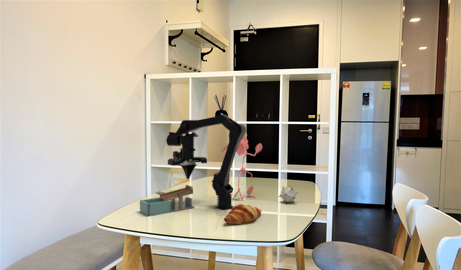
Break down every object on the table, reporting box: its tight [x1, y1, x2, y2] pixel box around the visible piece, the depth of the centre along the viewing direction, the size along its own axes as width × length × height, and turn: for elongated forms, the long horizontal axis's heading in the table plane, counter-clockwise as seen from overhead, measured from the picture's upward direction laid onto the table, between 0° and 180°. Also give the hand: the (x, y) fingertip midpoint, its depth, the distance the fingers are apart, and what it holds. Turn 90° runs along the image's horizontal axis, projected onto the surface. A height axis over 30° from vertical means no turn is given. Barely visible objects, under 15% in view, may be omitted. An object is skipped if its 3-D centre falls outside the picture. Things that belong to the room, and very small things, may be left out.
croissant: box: [223, 203, 262, 225], centre depth 119 cm, size 21×10×8 cm, turn 137°
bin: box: [139, 196, 172, 217], centre depth 129 cm, size 9×11×5 cm
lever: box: [155, 184, 194, 201], centre depth 139 cm, size 16×14×3 cm
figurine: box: [221, 133, 263, 202], centre depth 158 cm, size 15×26×35 cm, turn 133°
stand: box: [171, 194, 196, 213], centre depth 136 cm, size 9×11×7 cm
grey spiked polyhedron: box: [278, 185, 299, 204], centre depth 147 cm, size 9×8×10 cm
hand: (187, 178), depth 143 cm, fingers closed
